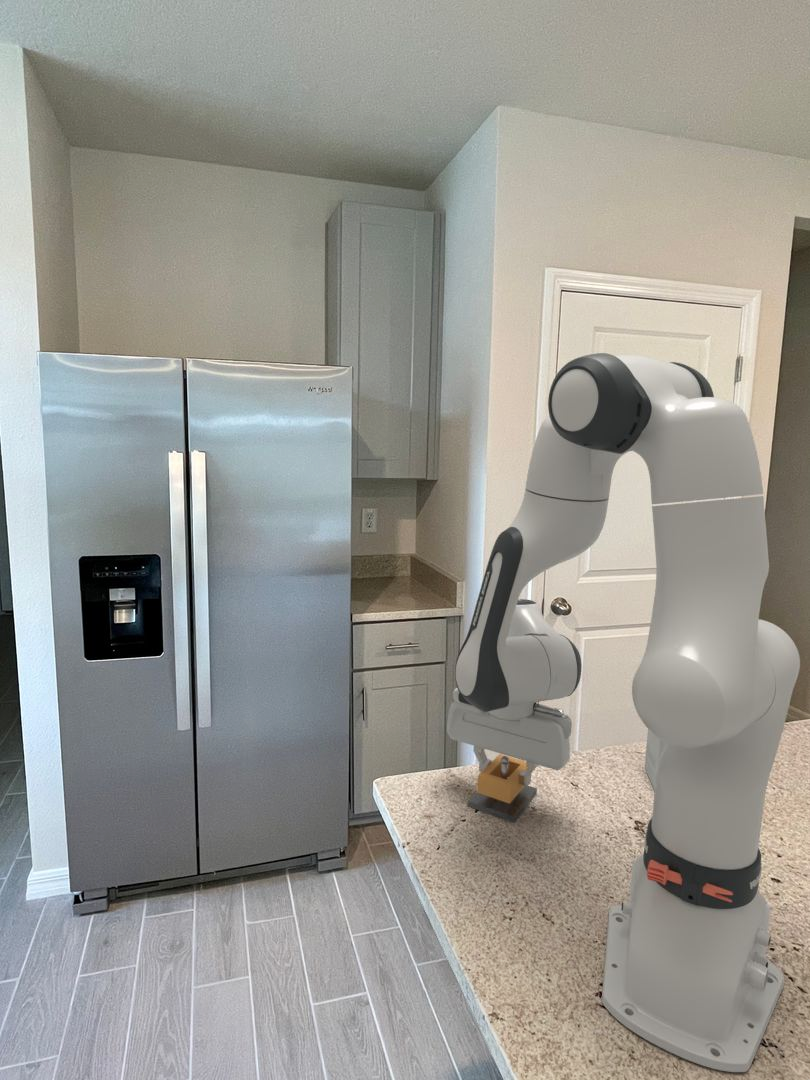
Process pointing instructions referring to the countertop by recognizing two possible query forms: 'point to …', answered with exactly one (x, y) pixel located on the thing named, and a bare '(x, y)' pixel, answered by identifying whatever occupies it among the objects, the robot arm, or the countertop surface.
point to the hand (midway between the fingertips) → (504, 777)
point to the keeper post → (500, 807)
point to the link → (501, 780)
